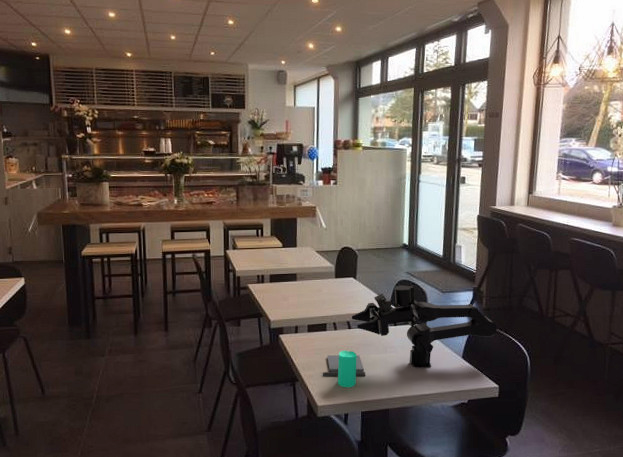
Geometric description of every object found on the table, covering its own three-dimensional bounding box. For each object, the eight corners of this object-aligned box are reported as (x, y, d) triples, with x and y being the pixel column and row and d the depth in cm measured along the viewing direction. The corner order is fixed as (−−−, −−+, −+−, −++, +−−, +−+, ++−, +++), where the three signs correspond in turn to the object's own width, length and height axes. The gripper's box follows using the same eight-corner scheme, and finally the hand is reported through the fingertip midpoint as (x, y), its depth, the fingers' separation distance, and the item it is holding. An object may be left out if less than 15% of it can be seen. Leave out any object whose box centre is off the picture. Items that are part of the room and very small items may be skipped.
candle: (354, 388, 181) (355, 353, 179) (336, 386, 182) (337, 352, 180) (356, 380, 187) (357, 347, 184) (339, 378, 188) (340, 345, 186)
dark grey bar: (364, 375, 191) (364, 371, 191) (365, 377, 190) (365, 373, 190) (322, 375, 190) (322, 371, 190) (322, 377, 189) (322, 373, 189)
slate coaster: (359, 357, 205) (359, 355, 205) (363, 371, 193) (363, 369, 193) (327, 357, 205) (327, 355, 204) (329, 371, 193) (329, 369, 193)
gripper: (388, 287, 204) (347, 292, 203) (402, 302, 186) (358, 308, 185) (390, 315, 207) (350, 321, 205) (405, 333, 188) (360, 339, 187)
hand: (354, 322), depth 195 cm, fingers open, 9 cm apart
